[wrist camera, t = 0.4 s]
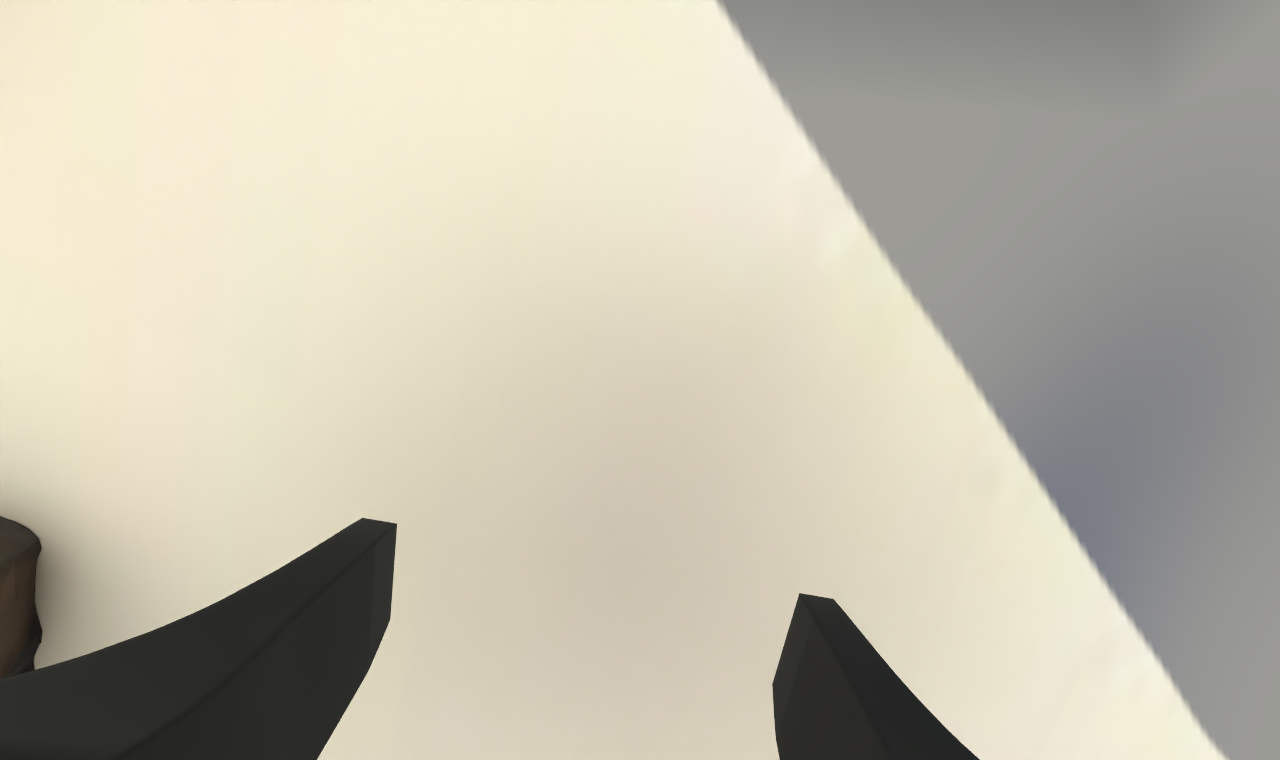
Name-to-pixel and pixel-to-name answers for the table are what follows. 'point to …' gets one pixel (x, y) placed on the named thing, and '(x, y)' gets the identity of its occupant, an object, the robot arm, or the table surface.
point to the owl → (17, 599)
